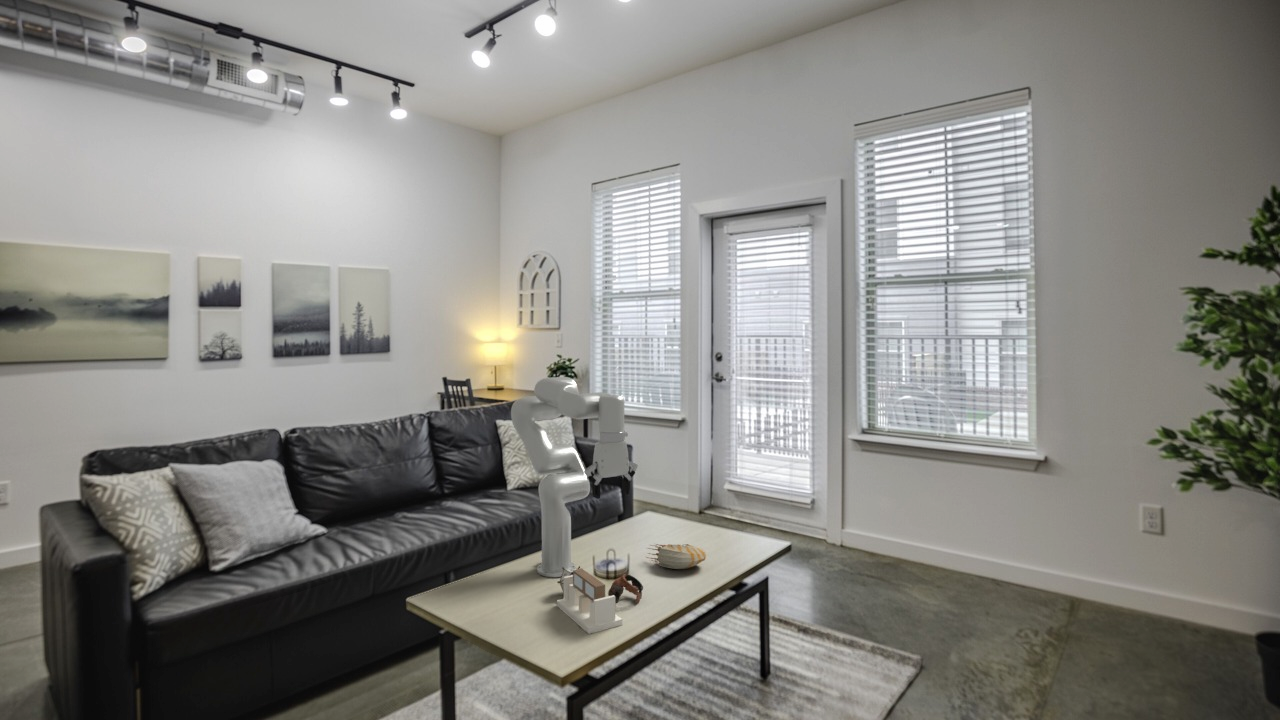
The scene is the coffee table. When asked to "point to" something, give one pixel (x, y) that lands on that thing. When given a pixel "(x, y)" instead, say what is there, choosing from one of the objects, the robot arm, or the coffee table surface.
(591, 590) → the tall brown box
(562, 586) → the wire frame polyhedron
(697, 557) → the nautilus
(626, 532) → the coffee table surface
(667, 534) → the coffee table surface
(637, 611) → the coffee table surface
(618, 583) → the brown curved ringed piece
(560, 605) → the stand
